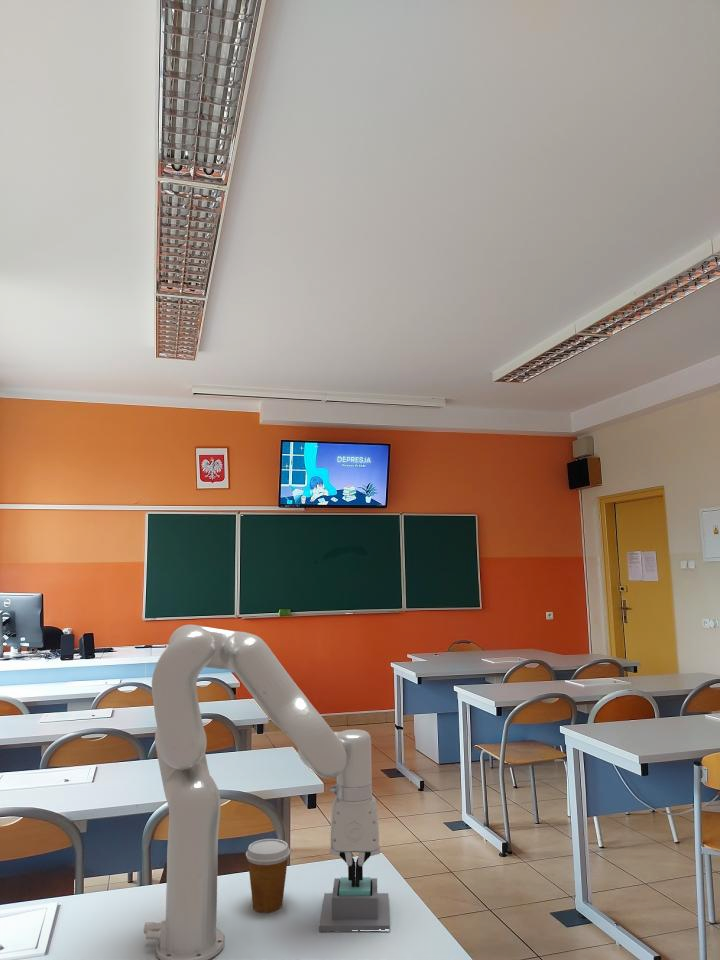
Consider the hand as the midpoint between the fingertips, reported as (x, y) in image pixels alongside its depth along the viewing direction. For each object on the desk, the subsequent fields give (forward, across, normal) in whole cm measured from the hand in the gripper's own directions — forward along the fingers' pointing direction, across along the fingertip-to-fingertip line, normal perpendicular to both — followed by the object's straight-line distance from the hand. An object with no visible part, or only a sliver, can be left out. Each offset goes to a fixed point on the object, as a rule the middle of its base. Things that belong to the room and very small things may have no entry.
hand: (355, 883), depth 142 cm
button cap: (+4, 0, 0) cm, 4 cm away
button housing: (+6, 0, 0) cm, 6 cm away
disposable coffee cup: (+6, -19, +4) cm, 20 cm away
